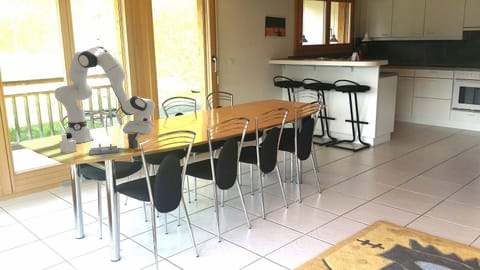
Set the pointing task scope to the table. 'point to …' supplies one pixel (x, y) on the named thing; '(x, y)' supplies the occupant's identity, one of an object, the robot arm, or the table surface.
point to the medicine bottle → (67, 143)
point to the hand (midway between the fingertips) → (132, 139)
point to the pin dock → (103, 150)
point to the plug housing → (132, 140)
